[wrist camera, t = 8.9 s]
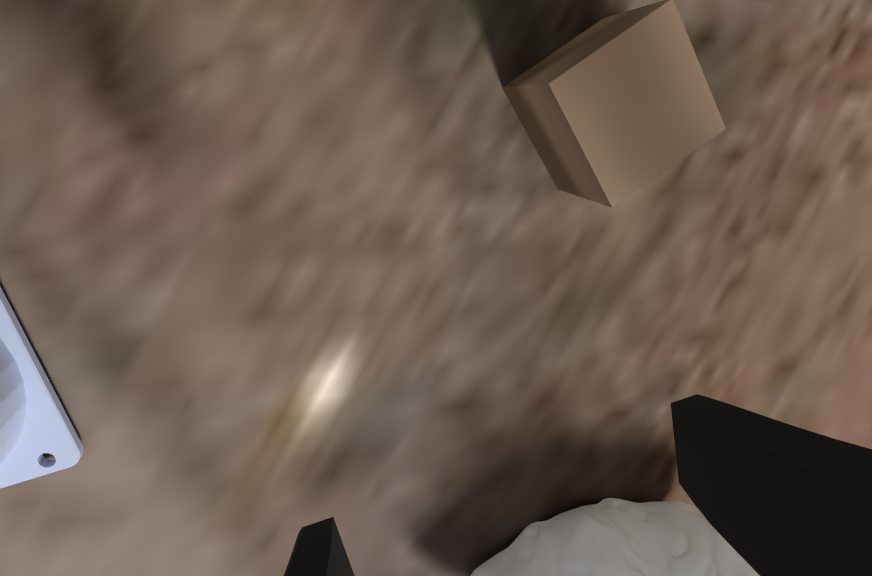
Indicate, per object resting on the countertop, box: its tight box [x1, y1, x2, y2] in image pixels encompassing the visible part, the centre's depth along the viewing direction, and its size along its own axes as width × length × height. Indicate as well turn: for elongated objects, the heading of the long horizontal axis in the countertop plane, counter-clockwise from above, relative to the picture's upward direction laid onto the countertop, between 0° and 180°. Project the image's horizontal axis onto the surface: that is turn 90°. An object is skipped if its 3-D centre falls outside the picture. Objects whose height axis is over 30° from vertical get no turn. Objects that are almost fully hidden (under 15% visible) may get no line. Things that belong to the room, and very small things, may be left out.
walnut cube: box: [502, 0, 726, 207], centre depth 18 cm, size 4×4×4 cm
